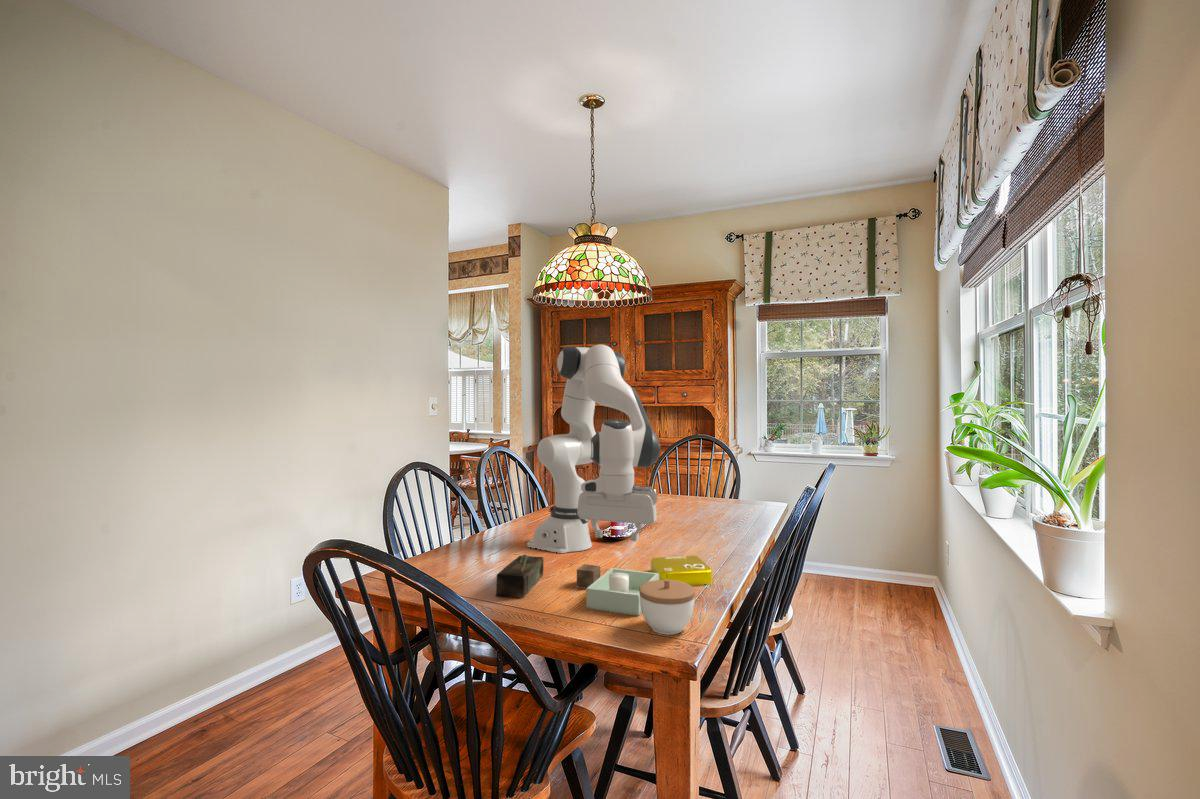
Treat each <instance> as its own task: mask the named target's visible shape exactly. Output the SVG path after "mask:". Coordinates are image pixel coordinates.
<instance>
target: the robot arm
mask: <svg viewBox="0 0 1200 799" xmlns="http://www.w3.org/2000/svg"><path fill="white" fill-rule="evenodd" d="M556 366H557V372H558V374H559V375H560V376H561V377H563V378H564V379H567V380H566V382H565V385H564V386H565V387H564V392H563V397H562V404H561V410H560V415H561V418H562V419H563V420H564V422H566V423H567V424H569V432H568V433H565V434H553V435H550V436H547V437H544V438H541V440H540V441H539V442H538V445H537V450H536V455H537V458H538V461H539V462H540V464H541V465H542V466H544V467H545V468H546V469H547V470H548V471H549V473H550V475H551V477H552V481H553V485H554V499H555V500H554V502H555V503H554V505H553V506H551V507H549V508H548V512H549V513H550V516H548V517H547V518H546V519H545V520H544V521H542V522H541V523H539V524H538V525H537V526H536V528H535V530H534V534H533V538H531V539H530V540H529V541H528V542H527V543H526V547H527V548H530V547H531V549H535V548H537V549H536V550H540V549H541V550H540V551H545V550H546V551H547V552H552V553H556V552H557V554H565V553H571V552H580V551H585V550H589V549H591V548H592V547H593V543H592V540H591V534H590V530H589V521H590V525H591V527H592V529H593V530H594V532H595V533H594V534H595V535H594V538H596V539H597V538H599V539H602V538H603V536H604V534H603V532H604V530H603V529H600V527H599V524H598V523H599V521H600V522H611V523H612V522H614V523H626V524H634V527H635V528H636V530H635V532H632V533H631V534H630V537H631V538H630V541H632V542H638V541H639V533H640V532H641V530H642V528H643V527H644V526H643V525H651V526H652V525H653V524H654V523H655V522H656V521H657V518H658V516H657V501H658V492H657V491H656V489H654V488H653V487H652V486H649V485H646V486H641V485H635V469H634V467H637V468H643V469H649V468H651V467H652V466H653V465H654V464H655V463H656V462H658V460H659V459H660V457H661V445H660V441H659V438H658V436H657V435H656V432H655V431H654V430H653V428H652V425H651V423H650V421H649V418H648V416H647V414H646V411H645V408H644V406H643V403H642V400H641V399H640V397H639V394H638V392H637V391H636V389H635V388H634V387H632V386H631V385H629V384H628V383H627V382H626V381H625V380H624V379H623V378H624V375H625V373H626V368H627V367H626V359H625V357H624V354H623V353H620V352H619V351H615V350H613V349H612V348H611V347H610V346H608V345H606V344H596V345H595V344H594V345H593V346H591V347H585V346H583V347H582V346H575V345H570V346H564V347H563V348H562V349H561V350H560V353H559V354H558V356H557V360H556ZM596 404H598V405H600V406H603V407H608V408H611V409H615V410H618V411H620V412H622V413H624V414H626V415H627V417H628V418H629V421H630V422H629V421H627V420H623V419H608V420H605V421H604V422H602V423H601V428H600V431H597V433H596V430H595V427H594V416H595V409H596V408H595V407H596ZM590 463H595V464H596V465H597V466H600V468H599V474H598V475H599V476H598V477H594V478H591V479H588V480H584V478H582V477H581V476H579V475H578V473H577V470H576V466H580V465H589V464H590Z"/></svg>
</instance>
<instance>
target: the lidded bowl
mask: <svg viewBox="0 0 1200 799" xmlns="http://www.w3.org/2000/svg"><path fill="white" fill-rule="evenodd" d="M695 590H696V589H695V588H694V587H693V586H691V585H689V584H687V583H684V582H680V581H675V580H667V579H666V580H655V581H650V582H646V583H644V584H642V585H641V586H640V588H639V593H640V605H641V611H642V613H641V615H642V617H643V620H645V623H646V624H647V625H648V626H649V627H651V628H650V629H651V630H652V631H653V632H654V633H655V634H656V633H657V634H660V635H665V636H666V635H667V636H671V635H677V634H679V633H681V632H683V630H684V629H685V628H686V627H687V626H688V625H689V623H690V621H691V619H692V617H693V614H694V610H695V596H696V591H695Z"/></svg>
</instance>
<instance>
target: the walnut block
mask: <svg viewBox="0 0 1200 799" xmlns="http://www.w3.org/2000/svg"><path fill="white" fill-rule="evenodd" d="M600 577H601V565H594V564H585V563H584V564H582V565H580V566H579V567H578V568H577V569H576V587H577V586H578V587H577V588H580V587H585V588H584V589H587V588H588V587H589V586H590V585H591V584H593V583H594V582H595V581H596V580H597V579H599V578H600Z"/></svg>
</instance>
